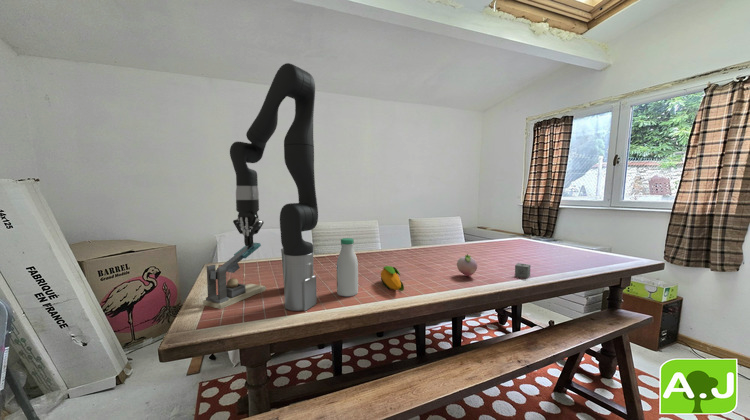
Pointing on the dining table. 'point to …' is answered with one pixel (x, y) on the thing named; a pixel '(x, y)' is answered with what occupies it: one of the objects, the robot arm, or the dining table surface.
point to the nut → (232, 283)
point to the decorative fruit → (467, 265)
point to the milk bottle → (347, 269)
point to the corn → (391, 278)
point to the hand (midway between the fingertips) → (248, 245)
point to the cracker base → (227, 290)
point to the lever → (237, 259)
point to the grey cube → (522, 270)
